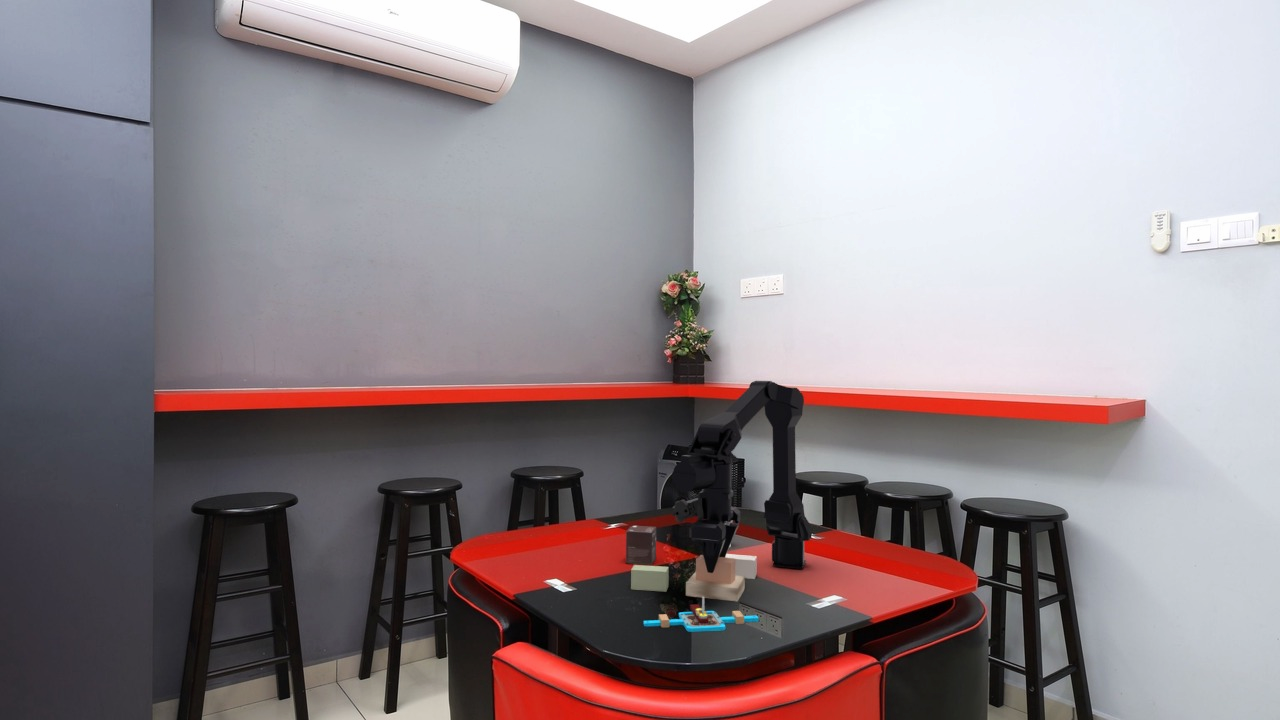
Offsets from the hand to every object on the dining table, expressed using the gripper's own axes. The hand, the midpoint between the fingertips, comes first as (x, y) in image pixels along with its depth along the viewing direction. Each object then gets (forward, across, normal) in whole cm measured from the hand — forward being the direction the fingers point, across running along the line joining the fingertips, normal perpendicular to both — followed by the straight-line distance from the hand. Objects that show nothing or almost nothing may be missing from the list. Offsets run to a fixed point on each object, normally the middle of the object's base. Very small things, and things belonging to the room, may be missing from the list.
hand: (716, 566), depth 138 cm
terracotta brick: (+2, 0, 0) cm, 3 cm away
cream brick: (+5, -13, +2) cm, 14 cm away
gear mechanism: (+6, +17, +1) cm, 18 cm away
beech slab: (+6, 0, 0) cm, 6 cm away
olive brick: (+5, +2, -13) cm, 14 cm away
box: (+5, -16, -21) cm, 27 cm away
